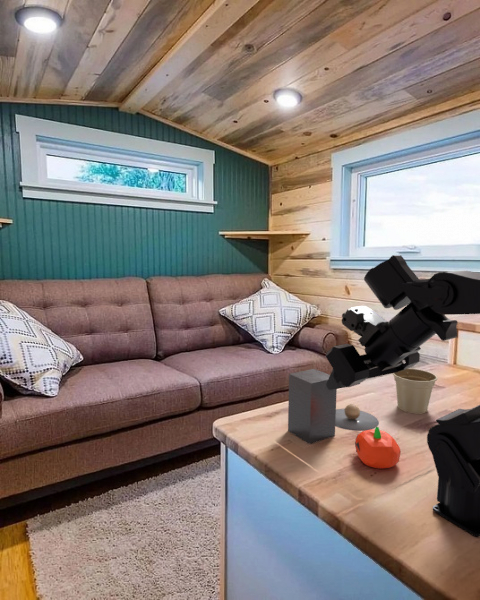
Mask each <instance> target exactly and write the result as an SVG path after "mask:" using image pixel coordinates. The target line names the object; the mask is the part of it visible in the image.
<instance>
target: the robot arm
mask: <svg viewBox="0 0 480 600" xmlns="http://www.w3.org/2000/svg"><path fill="white" fill-rule="evenodd" d="M363 280H364V282H365V284H366V285H367V286H368V288H369V289H370V290H371V291H372V294H373V295H374V296H375V297H376V298H377V300H378V301H379V302H380V305H382V307H383V308H384V309H390V308H392V309H393V310H395V311H397V310H398V311H399V310H400V309H401V310H400V311H399V312H398V313H397V314H396V315H395V316H393V317H392V318H391V319H390V320H389V321H387V320H386V319H385V317H383V316H382V315H380V314H379V313H378V312H376V311H375V310H373V309H371V308H370V307H369V306H367V305H358V306H352V307H350V308H346V311H345V312H343V313H342V314H341V317H342V318H341V323H342V325H343V326H344V327H346V328H347V329H348V330H349V331H350V332H354V333H355V334H356V335H358V336H360V337H359V339H357V341H358V342H359V344H360V345H361V346H362V347H364V349H363V350H364V352H365V354H364V353H363V354H360V353H359V352H358V349H357V348H356V347H355V345H354V344H350V343H344V344H340V345H334V346H332V347H331V348H330V349H329V350H328V351H326V353H325V358H326V359H327V361H328V363H329V365H330V366H331V368H332V370H331V372H330V374H329V375H330V377H329V379H328V381H327V383H326V386H327V388H328V389H329V390H333V389H337V390H338V389H343V388H345V389H346V388H351V387H355V386H357V385H361V383H363V382H365V381H366V380H369V379H373V378H377V377H382V376H386V375H390V374H393V373H396V372H399V371H403V370H405V369H408V368H411V369H412V368H413V367H414V366H415V365H417V364H419V362H420V357H421V355H420V353H419V351H421V350H422V348H421V346H422V345H424V344H425V343H426V342H427V341H429V340H430V339H431V338H432V337H434V336H435V335H437V337H438V338H439V339H440V340H441V341H443V342H445V341H448V340H452V339H456V338H457V337H458V329H457V327H458V326H457V325H458V320H457V319H454V320H453V319H450V318H448V317H447V316H446V315H451V316H452V315H454V316H455V315H480V273H479V272H474V271H470V270H454V271H443V272H442V271H440V272H437V273H434V274H433V275H432V276H431V277H430V278H423V279H421V278H419V277H418V276H417V275H416V274H415V272H414V271H413V270H412V269H411V268H410V267H409V265H408V263H407V261H406V260H405V258H404V257H403V256H402V255H399V254H398V255H397V254H396V255H395V254H394V255H391V256H390V257H389V258H388V259H387V260H384V261H382V262H380V263H379V264H377V265H375V266H374V267H372V268H370V269H369V270H368V271H367V272H366V274H365V276H364V278H363ZM404 362H405V363H404ZM435 422H436V424H434V425H433V426H431V427H430V428H429V429H428V430H427V431H428V433H427V435H426V444H427V446H428V449H429V451H430V453H431V454H432V458H433V461H434V467H435V469H436V474H437V477H438V479H437V492H436V500H437V502H438V503H436V504H434V505H433V506H432V511H433V512H434V513H436V514H437V515H439V516H441V517H442V518H443V519H446V520H448V521H449V522H450V523H452V524H454V525H456V526H457V527H458V528H461V529H462V530H463V531H465V532H468V533H469V534H470V535H472V536H473V537H477V538H479V537H480V404H479V405H476V406H474V407H472V408H467V409H465V408H458V409H455V410H454V411H452V412H449V413H448V414H446V415H443V416H441V417H439V418H437V419H436V420H435Z"/></svg>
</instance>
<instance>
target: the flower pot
mask: <svg viewBox="0 0 480 600" xmlns="http://www.w3.org/2000/svg"><path fill="white" fill-rule="evenodd" d="M392 375H393V377H394V378H393V379H394V381H395V389H396V391H395V392H396V400H397V408H398V409H399V410H401V411H403V412H405V413H410V414H417V415H420V414H425V413H427V411H428V409H429V404H430V399H431V395H432V392H433V391H432V390H433V387H434V386H435V384H436V381H437V380H438V376H437V375H436V374H435V373H433V372H430V371H428V370H424V369H419V368H412V367H411V368H408V369H405V370H403V371H399V372H396V373H392Z"/></svg>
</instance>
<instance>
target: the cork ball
mask: <svg viewBox="0 0 480 600" xmlns="http://www.w3.org/2000/svg"><path fill="white" fill-rule="evenodd" d="M344 409H345V415H346V417H347V418H349V419H351V420H354V419H357V418H358V417H359V415H360V411H361V410H360V408H359V407H358V406H357V405H356V404H354V403H349V404H348V405H346V406H345V407H344Z"/></svg>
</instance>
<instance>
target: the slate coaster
mask: <svg viewBox="0 0 480 600" xmlns="http://www.w3.org/2000/svg"><path fill="white" fill-rule="evenodd" d="M379 424H380V421H379V419H378V417H376V416H375V415H374V414H372V413H369V412H368V411H367V412H366V411H363V410H360V415H359V417H358V418H357V419H354V420H351V419H349V418H347V417H346V415H345V408H338V409H337V408H336V419H335V427H337V428H340V429H342V430H348V431H356V432H357V431H359V432H362V431H366V430H371V429H373V430H375V428H376V427H378V426H379Z"/></svg>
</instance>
